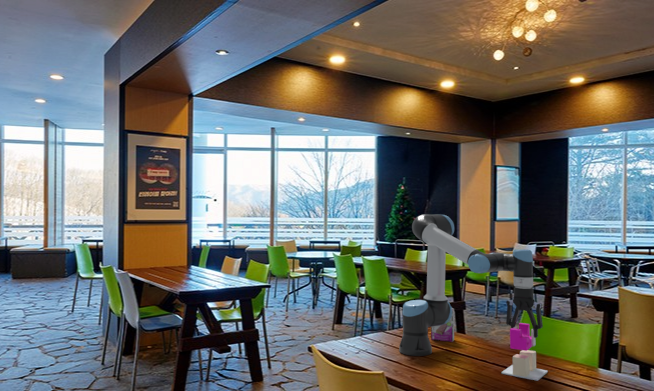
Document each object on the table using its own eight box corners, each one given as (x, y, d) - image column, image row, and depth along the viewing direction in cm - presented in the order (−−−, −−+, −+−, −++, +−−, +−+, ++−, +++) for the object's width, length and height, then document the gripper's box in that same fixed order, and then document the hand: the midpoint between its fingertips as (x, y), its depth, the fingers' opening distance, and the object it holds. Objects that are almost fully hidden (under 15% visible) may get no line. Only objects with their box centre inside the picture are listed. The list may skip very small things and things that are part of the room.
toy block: (526, 350, 193) (526, 331, 193) (510, 348, 197) (509, 329, 197) (536, 343, 205) (535, 324, 205) (520, 340, 209) (520, 322, 209)
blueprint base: (501, 373, 201) (501, 354, 201) (513, 365, 212) (512, 347, 212) (537, 380, 192) (537, 360, 192) (547, 372, 203) (547, 353, 203)
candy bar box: (430, 340, 256) (430, 308, 256) (433, 337, 260) (432, 306, 261) (452, 342, 251) (452, 309, 252) (454, 340, 256) (454, 308, 256)
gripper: (496, 286, 206) (497, 342, 205) (545, 290, 194) (547, 349, 193) (502, 284, 212) (503, 338, 211) (551, 288, 200) (552, 346, 199)
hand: (524, 343), depth 202 cm, fingers closed on toy block, 6 cm apart
